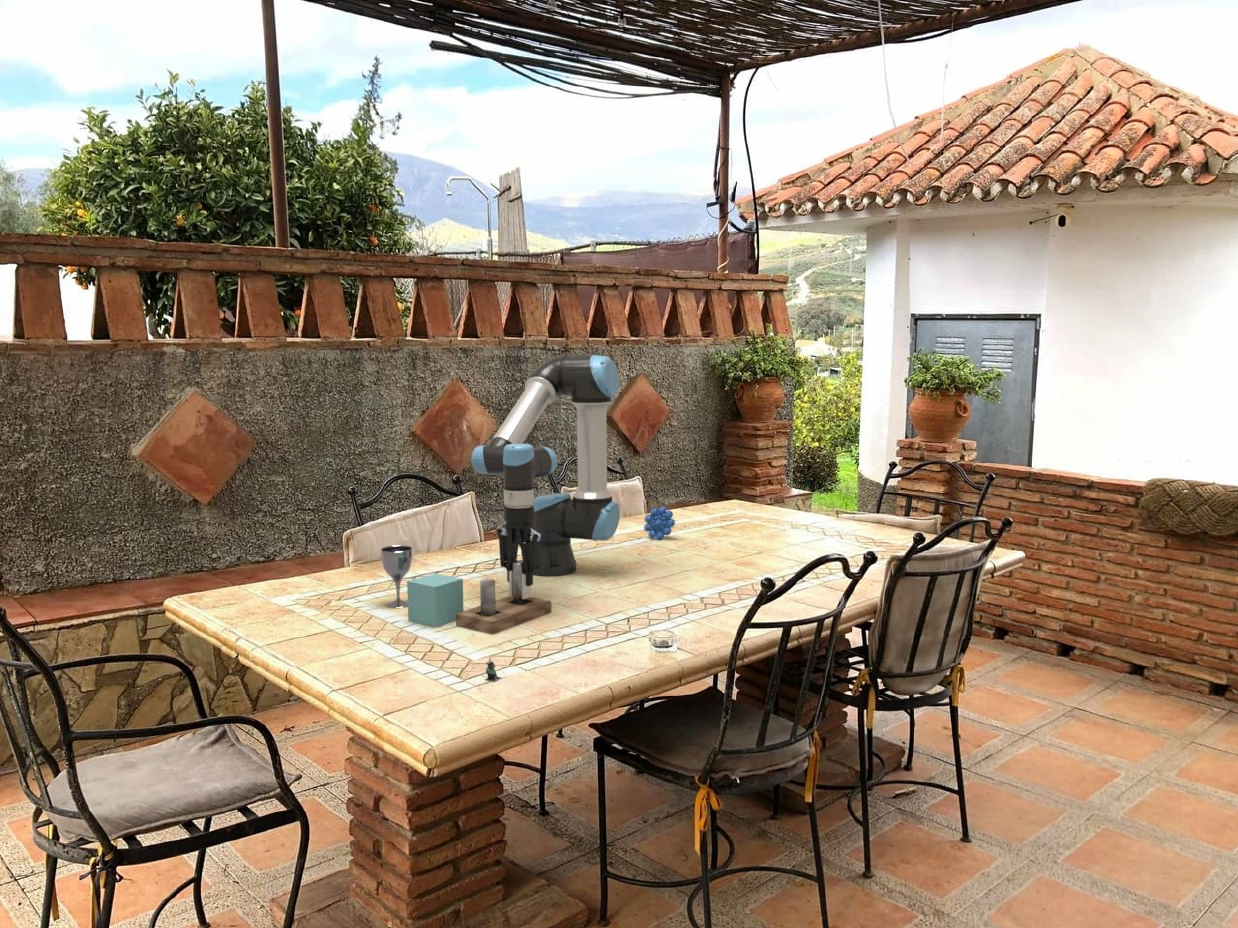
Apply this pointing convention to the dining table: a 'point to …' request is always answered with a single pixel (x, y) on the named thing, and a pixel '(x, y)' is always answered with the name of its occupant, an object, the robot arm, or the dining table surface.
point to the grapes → (659, 522)
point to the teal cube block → (434, 599)
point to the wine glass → (397, 568)
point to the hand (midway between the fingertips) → (520, 596)
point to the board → (500, 611)
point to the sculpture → (491, 672)
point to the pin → (518, 583)
